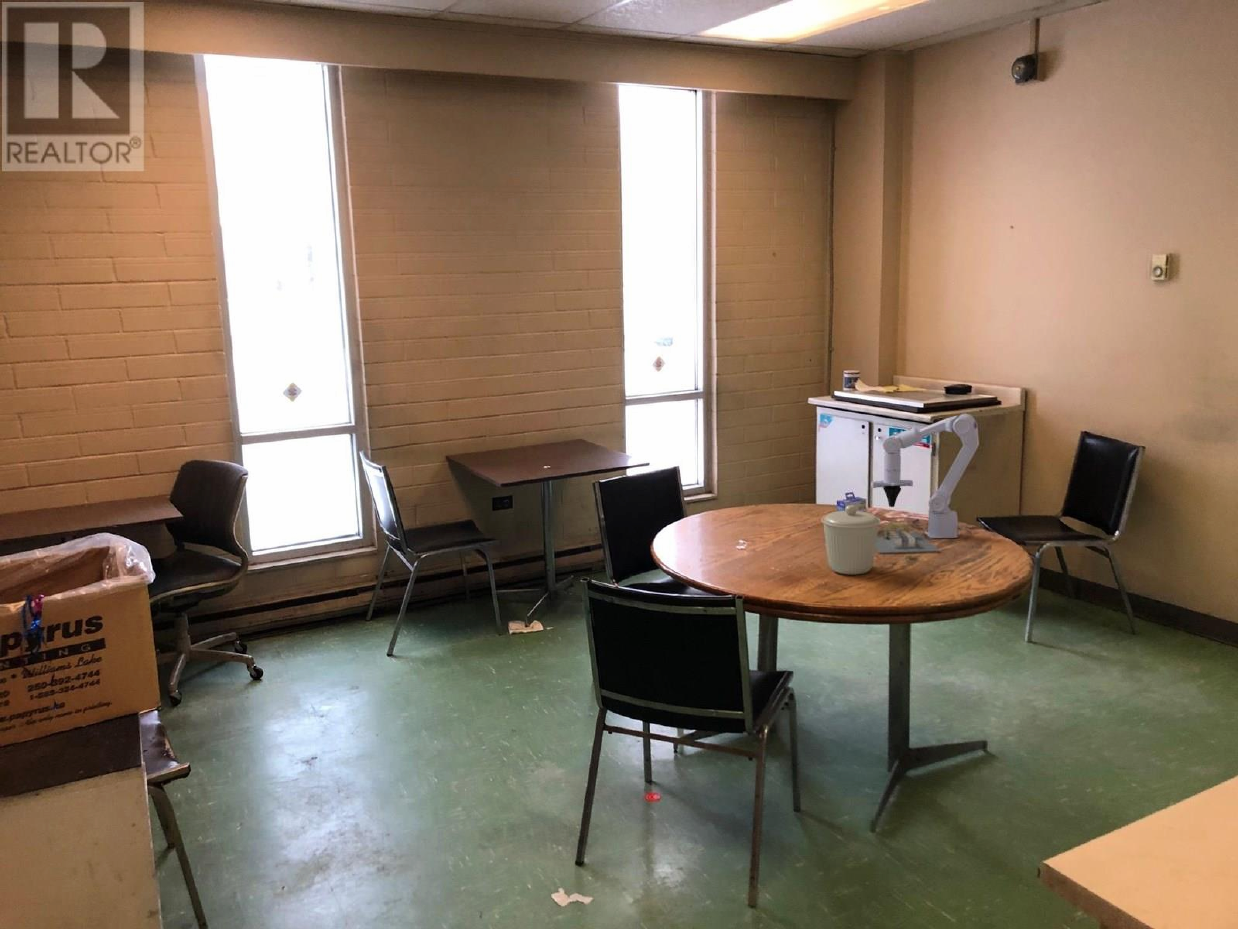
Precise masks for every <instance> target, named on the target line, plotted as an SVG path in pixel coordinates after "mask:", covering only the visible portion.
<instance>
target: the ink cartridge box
mask: <svg viewBox="0 0 1238 929" xmlns="http://www.w3.org/2000/svg"><path fill="white" fill-rule="evenodd" d="M844 495H845V499H838V500H836V512H838V511H845V508H846V507H847V506H848V505H853V506H855V507H856V508H857V511H861V512H866V513H867V499H866V498H863V497H860V496H855V493H854V492H853V491H850V492H845V493H844ZM849 495H850V496H849ZM851 495H852V496H851Z"/></svg>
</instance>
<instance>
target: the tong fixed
mask: <svg viewBox="0 0 1238 929" xmlns="http://www.w3.org/2000/svg"><path fill="white" fill-rule="evenodd" d="M896 530H897V535H898V537H900V538H901V539H902V541H903V542H904V543H905V544H906V545H907V547H908V548H915V538H914V537H912V536H911V535H910V534H909V533H908V532H907V531H906V530H905V529H896Z"/></svg>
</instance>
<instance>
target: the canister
mask: <svg viewBox="0 0 1238 929" xmlns="http://www.w3.org/2000/svg"><path fill="white" fill-rule="evenodd" d="M821 523H823V529H824V530H823V531H824V537H825V538H824V540H825V547H826V548H825V549H826V555H827V556H826V557H827V564H828V565H829V568H830V569H831V570H832V571H833V572H836V573H838V574H841V575H842V574H843V575H850V576H851V575H861V574H865V573H868V572H869V571H870V570H871V569H872V568H873V565H874V560H875V554H876V550H875V548H876V541H877V533H878V532H879V525H881V523H882V520H881V519H880V518H879V517H878V516H876V515H874V514H873V513H869V512H867V511H866V512H861V511H857V508H856V507H855V506H853V505H848V506H847V507H846V508H845V511H838V512H837V511H834V512H830V513H827V515H825V516H823V517H822V518H821Z"/></svg>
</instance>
